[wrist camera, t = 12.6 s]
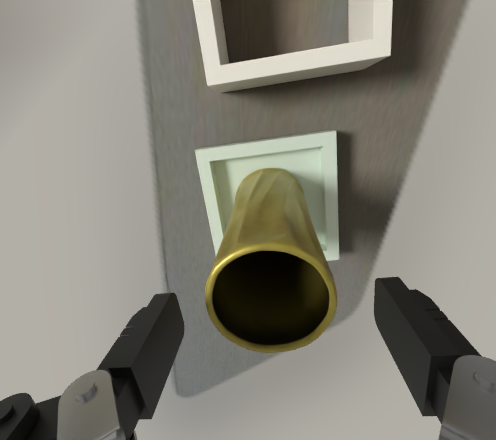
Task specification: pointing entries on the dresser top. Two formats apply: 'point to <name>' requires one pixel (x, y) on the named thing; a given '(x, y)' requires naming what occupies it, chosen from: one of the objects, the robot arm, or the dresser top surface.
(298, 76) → the sleeve
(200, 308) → the dresser top surface
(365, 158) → the dresser top surface
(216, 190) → the tray
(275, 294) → the vase
